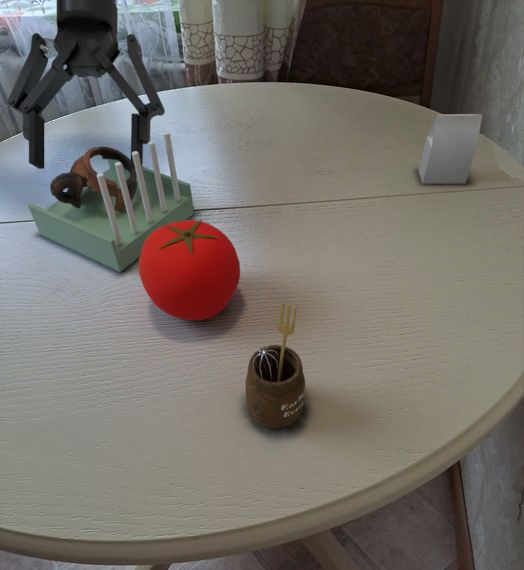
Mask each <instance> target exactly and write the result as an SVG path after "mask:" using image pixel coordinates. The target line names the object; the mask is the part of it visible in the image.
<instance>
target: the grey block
mask: <svg viewBox="0 0 524 570" xmlns="http://www.w3.org/2000/svg"><path fill="white" fill-rule="evenodd" d="M482 120H483V113H466V114H465V113H458V114H457V113H455V114H453V113H452V114H451V113H450V114H449V113H448V114H446V113H445V114H444V113H443V114H441V113H439V114H435V115H434V118H433V121H432V123H431V126H430V128H429V131H428V133H427V136H426V139H425V143H424V147H423V152H422V155H421V160H420V163H419V168H418V173H419V176H420V180H421V183H422V184H424V185H429V184H432V185H433V184H437V185H438V184H442V185H443V184H444V185H445V184H446V185H449V184H453V185H454V184H465V185H466V183H467V180H468V177H469V175H470V171H471V168H472V165H473V163H474V159H475V155H476V153H477V149H478V145H479V137H480V130H481V124H482Z"/></svg>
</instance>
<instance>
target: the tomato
mask: <svg viewBox="0 0 524 570" xmlns="http://www.w3.org/2000/svg"><path fill="white" fill-rule="evenodd" d="M202 220H203V218H201V219H200V220H195V219H187V220H184V221H178V222H174V223H170V224H166V225H164V226H161V227H159V228H157V229H155V230H154V231H153V232H152V233H151V234H150V235H149V236H148V238H147V239H146V241H145V243H144V245H143V247H142V251H141V255H140V257H139V258H138V273H139V277H140V280H141V283H142V286H143V288H144V291H145V293H146V294H147V296H148V297H149V298H150V300H151V301H152V302H153V304H154V305H155V306H156V307H157V308H159V309H160V310H161V311H163V312H164V313H165V314H167V315H169V316H171V317H174V318H176V319H177V318H178V319H182V320H184V321H185V320H186V321H201V320H202V321H203V320H206V319H210V318H213V317H214V316H216V315H218V314H219V313H221V312H222V310H223V309H225V307H226V306H227V305H228V304H229V303H230V302H231V300H232V298H233V297H234V295H235V293H236V291H237V288H238V286H239V283H240V278H241V265H240V263H241V261H240V259H239V257H238V254H237V251H236V248H235V246H234V244H233V242H232V241H231V240H230V238H229V237H228V236H227V235H226V234H225V233H224V232H223V231H221V229H219V228H217V227H216V226H214V225H212V224H210V223H208V222H205V221H202Z"/></svg>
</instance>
